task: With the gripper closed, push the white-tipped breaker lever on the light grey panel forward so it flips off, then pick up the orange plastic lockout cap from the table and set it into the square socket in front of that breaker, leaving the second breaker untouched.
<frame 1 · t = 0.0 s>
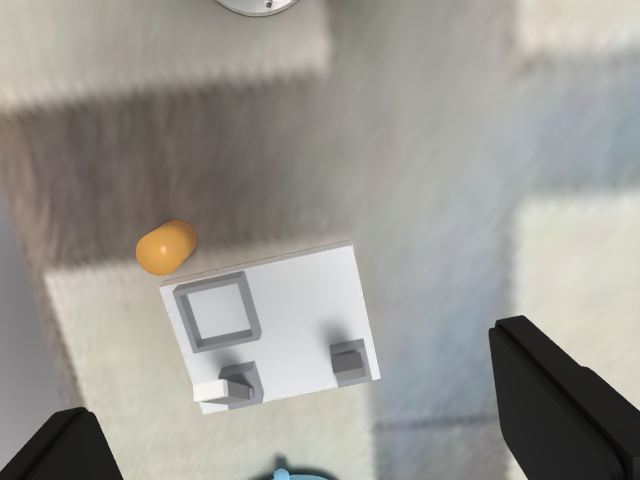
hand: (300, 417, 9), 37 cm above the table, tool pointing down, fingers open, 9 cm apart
breaker 1: (226, 393, 42), point 8 cm above the table, hinge at -40.0°
panel: (275, 326, 49), on the table
lockout cap: (177, 238, 46), on the table
breaker 2: (350, 368, 42), point 8 cm above the table, hinge at -40.0°
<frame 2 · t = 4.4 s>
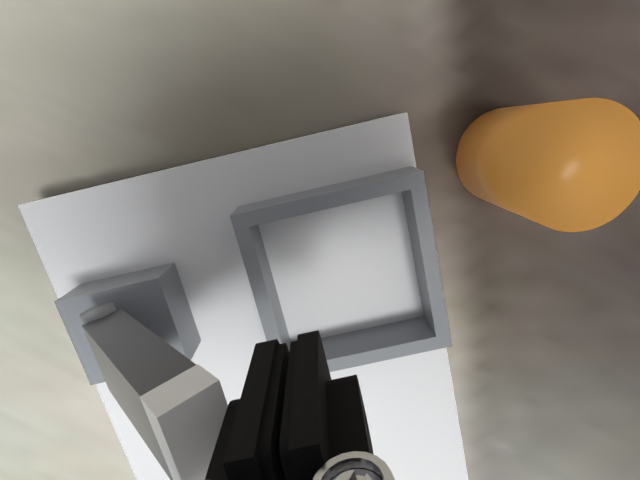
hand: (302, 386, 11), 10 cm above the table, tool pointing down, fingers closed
breaker 1: (144, 380, 13), point 8 cm above the table, hinge at -39.6°, touching gripper
panel: (278, 359, 22), on the table
lockout cap: (502, 156, 19), on the table
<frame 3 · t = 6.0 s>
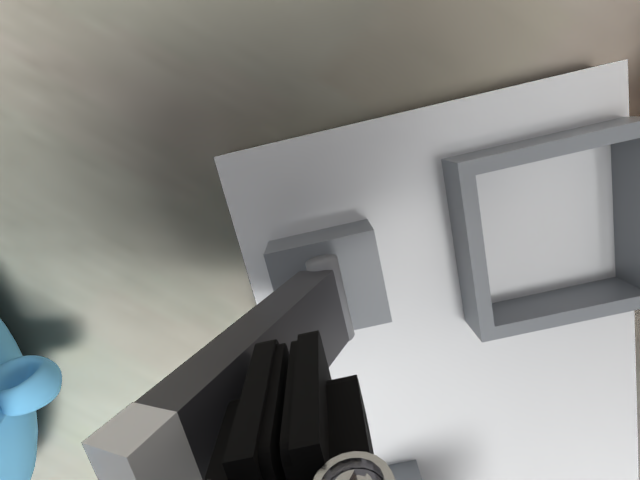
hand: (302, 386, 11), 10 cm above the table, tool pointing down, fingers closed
breaker 1: (267, 364, 12), point 9 cm above the table, hinge at 29.3°, touching gripper
panel: (440, 326, 21), on the table
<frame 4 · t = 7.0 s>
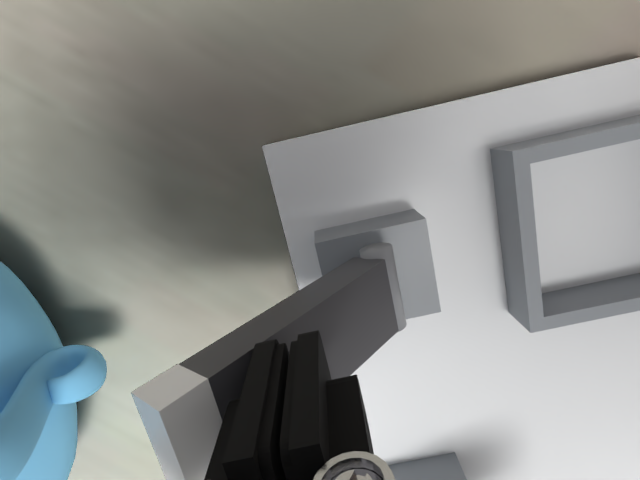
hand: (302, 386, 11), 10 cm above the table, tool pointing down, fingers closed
breaker 1: (307, 345, 13), point 8 cm above the table, hinge at 43.0°, touching gripper
panel: (479, 319, 21), on the table
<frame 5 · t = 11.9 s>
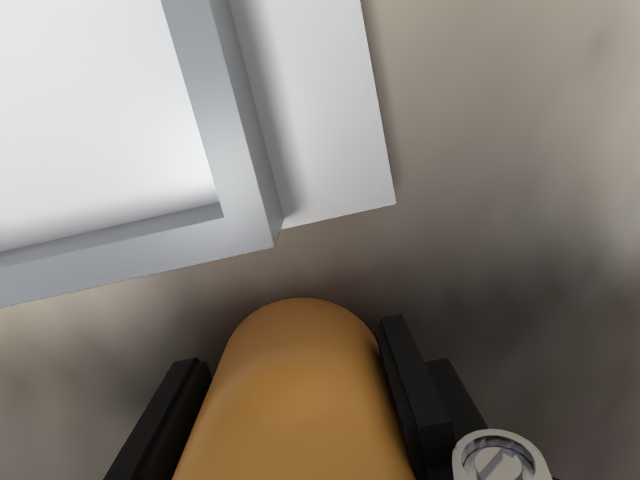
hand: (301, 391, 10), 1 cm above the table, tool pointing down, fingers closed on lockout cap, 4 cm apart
lockout cap: (302, 371, 11), on the table, touching gripper
when the fingers open (4 cm above the table, at t = 16.2 s): lockout cap drops 1 cm, resting on panel.
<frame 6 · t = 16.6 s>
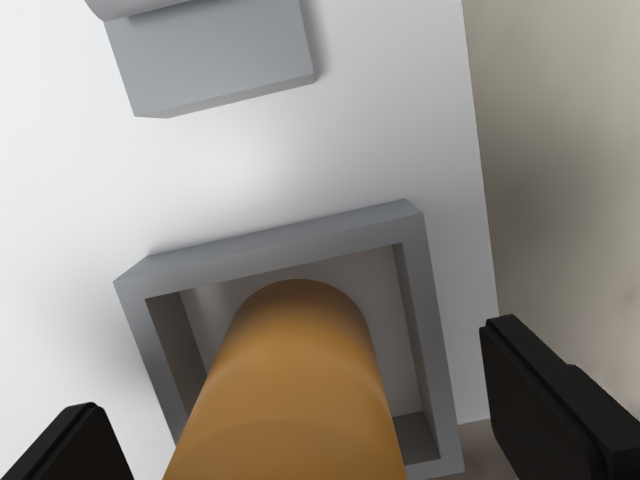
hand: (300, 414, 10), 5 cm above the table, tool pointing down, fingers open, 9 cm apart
panel: (127, 226, 14), on the table
lockout cap: (299, 345, 13), point 2 cm above the table, touching panel
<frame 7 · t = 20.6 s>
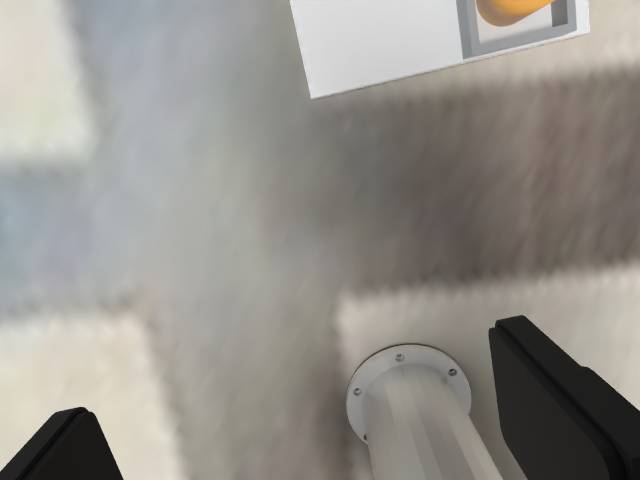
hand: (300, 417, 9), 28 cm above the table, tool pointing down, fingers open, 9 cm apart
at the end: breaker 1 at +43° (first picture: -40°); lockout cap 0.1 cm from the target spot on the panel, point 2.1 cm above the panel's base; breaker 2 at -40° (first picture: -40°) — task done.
